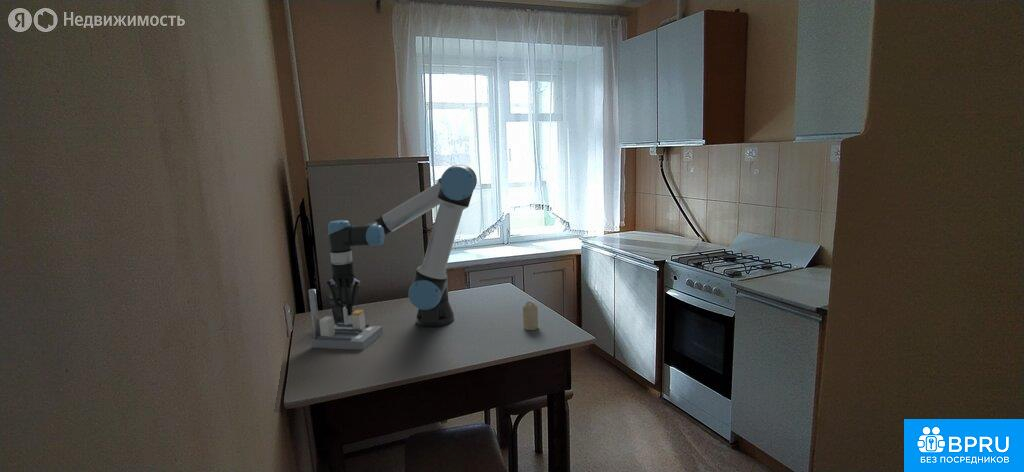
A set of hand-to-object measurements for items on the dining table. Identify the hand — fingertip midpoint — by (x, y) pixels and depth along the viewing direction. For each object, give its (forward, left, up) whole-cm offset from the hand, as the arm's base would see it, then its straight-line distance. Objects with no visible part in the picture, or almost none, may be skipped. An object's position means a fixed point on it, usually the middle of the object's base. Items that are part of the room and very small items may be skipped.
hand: (348, 323), depth 180 cm
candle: (-67, -14, -5) cm, 69 cm away
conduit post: (+7, +9, -2) cm, 12 cm away
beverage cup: (+11, -12, -5) cm, 17 cm away
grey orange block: (-4, 0, -2) cm, 5 cm away
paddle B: (+4, +8, -2) cm, 9 cm away
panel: (-2, +4, -5) cm, 7 cm away
